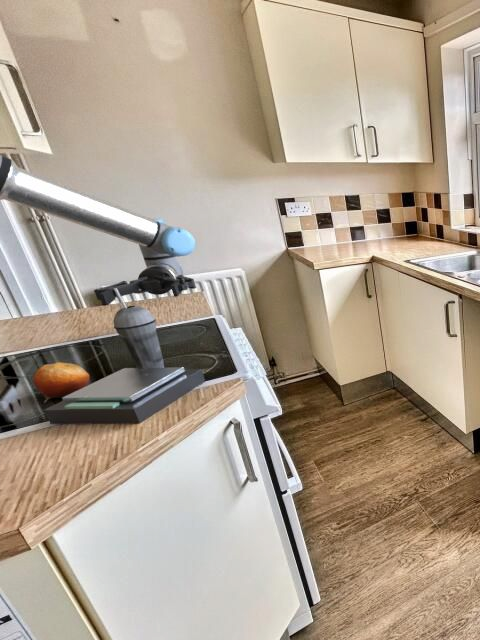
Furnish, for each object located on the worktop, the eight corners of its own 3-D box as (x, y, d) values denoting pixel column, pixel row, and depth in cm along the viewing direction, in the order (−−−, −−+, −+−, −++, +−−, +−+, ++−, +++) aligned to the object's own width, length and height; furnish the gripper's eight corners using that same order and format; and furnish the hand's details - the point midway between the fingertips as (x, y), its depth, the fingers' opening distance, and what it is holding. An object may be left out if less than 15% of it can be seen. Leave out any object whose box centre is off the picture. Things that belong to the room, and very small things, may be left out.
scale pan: (63, 402, 78) (61, 397, 77) (125, 372, 90) (124, 368, 89) (132, 401, 77) (130, 396, 77) (185, 371, 89) (183, 367, 89)
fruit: (29, 390, 87) (43, 354, 87) (81, 396, 93) (95, 363, 93) (21, 404, 82) (36, 366, 82) (78, 410, 87) (92, 374, 87)
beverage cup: (178, 366, 101) (150, 284, 93) (143, 378, 95) (109, 292, 87) (161, 361, 104) (132, 282, 96) (125, 373, 97) (92, 289, 90)
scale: (50, 424, 77) (41, 407, 76) (130, 382, 93) (124, 367, 92) (139, 423, 77) (132, 406, 75) (205, 381, 92) (200, 366, 91)
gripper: (214, 285, 126) (206, 302, 108) (106, 298, 115) (77, 319, 97) (207, 260, 123) (197, 273, 105) (95, 271, 112) (63, 288, 95)
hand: (139, 295), depth 101 cm, fingers open, 13 cm apart
